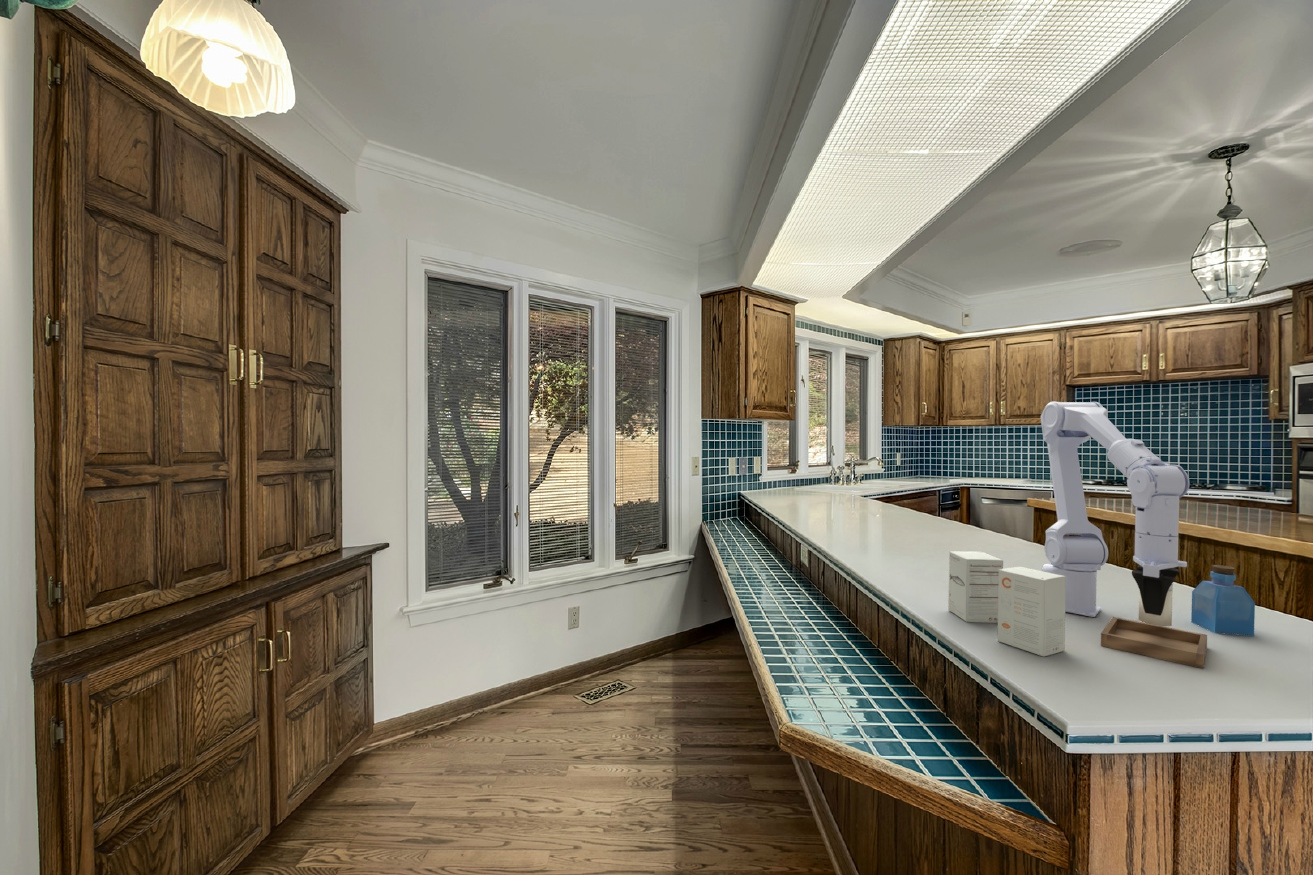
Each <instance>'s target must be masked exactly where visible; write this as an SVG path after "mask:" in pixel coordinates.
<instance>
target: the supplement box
mask: <svg viewBox="0 0 1313 875" xmlns="http://www.w3.org/2000/svg"><path fill="white" fill-rule="evenodd" d="M948 562H949V563H948V564H949V566H948V568H949V569H948V600H947V601H948V606H947V608H948V611H949V612H951V613H953V614H954V615H956V616H957V617H959V618H960V619H961V620H963V621H964V622H967V623H989V624H990V623H994V624H998V581H999V579H998V578H999V569H1004V560H1003V559H1002V558H1001V559H1000V558H999V557H996V556H994V555H991V554H988V553H986V552H984V551H971V550H970V551H969V550H967V551H961V550H960V551H958V550H957V551H954V550H951V551H949V561H948Z"/></svg>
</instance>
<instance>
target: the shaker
mask: <svg viewBox="0 0 1313 875" xmlns="http://www.w3.org/2000/svg"><path fill="white" fill-rule="evenodd" d="M1173 587H1174V586H1173V583H1172V585H1171V586H1170V588H1169V590H1168V592H1167V596H1166V600H1165V604H1164V608H1163V612H1162V614H1161V616H1159V615H1154V614H1148V613H1145V611H1144V607H1143V603H1142V598H1141V594H1140V590H1139V589H1138V621H1139V622H1143V623H1148V624H1152V625H1158V626H1164V627H1171V626H1173V589H1174V588H1173Z"/></svg>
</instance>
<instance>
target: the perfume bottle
mask: <svg viewBox="0 0 1313 875" xmlns="http://www.w3.org/2000/svg"><path fill="white" fill-rule="evenodd" d="M1211 569H1212V570H1211V571H1210V574H1209V575H1210V578H1211V579H1212V580H1202V581H1201V582H1200V583H1198V585H1197V586H1196V587H1194V589H1193V590H1191V617H1190V618H1191V622H1190V623H1192V624H1194V625H1195V626H1196V625H1197V626H1198V625H1199V626H1198V627H1201V628H1202V629H1206V630H1207V629H1208V630H1207V631H1209V630H1210V632H1211V631H1212V632H1211V633H1214V634H1220V633H1225V635H1235V634H1239V635H1238V636H1250V637H1251V636H1252V637H1253V636H1255V620H1256V619H1255V618H1256V617H1255V616H1256V615H1255V612H1256V610H1255V609H1256V602H1255V601H1254V600H1253V598H1252V597H1251V596H1250V594H1249V593H1248V592H1247V590H1246V589H1245V587H1243V586H1240V585H1237V584H1234V581H1236V578H1237V575H1236V573H1234V572H1235V569H1236V568H1235V567H1233V566H1229V565H1221V564H1211Z"/></svg>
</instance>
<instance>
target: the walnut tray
mask: <svg viewBox="0 0 1313 875" xmlns="http://www.w3.org/2000/svg"><path fill="white" fill-rule="evenodd" d="M1100 646H1101V647H1105V648H1110V649H1113V650H1118V651H1123V652H1128V653H1131V654H1135V655H1141V656H1146V657H1149V658H1154V659H1159V660H1164V661H1168V662H1171V663H1172V662H1173V663H1176V664H1182V665H1185V666H1186V665H1187V666H1190V667H1196V668H1199V669H1204V665H1205V659H1206V654H1207V649H1208V634H1205V633H1204V634H1203V633H1199V632H1194V631H1189V630H1184V629H1179V628H1173V627H1170V626H1158V625H1152V624H1148V623H1144V622H1142V621H1139V620H1137V621H1136V620H1134V619H1133V620H1132V619H1127V618H1121V617H1118V616H1117V617H1115V616H1112V618H1111V619H1110V620H1109V622H1108V623H1107V624H1106V626H1105V627H1104V628H1103V630H1102V631H1101V633H1100Z"/></svg>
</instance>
